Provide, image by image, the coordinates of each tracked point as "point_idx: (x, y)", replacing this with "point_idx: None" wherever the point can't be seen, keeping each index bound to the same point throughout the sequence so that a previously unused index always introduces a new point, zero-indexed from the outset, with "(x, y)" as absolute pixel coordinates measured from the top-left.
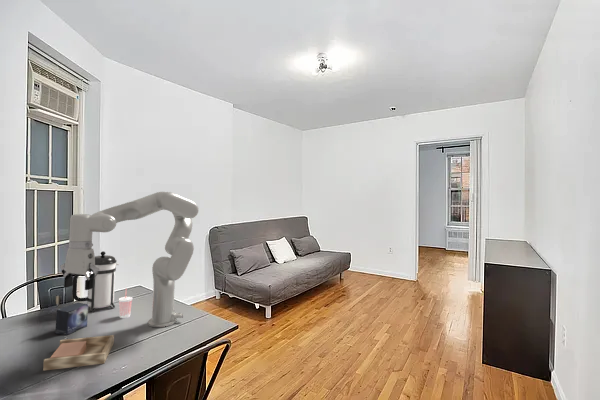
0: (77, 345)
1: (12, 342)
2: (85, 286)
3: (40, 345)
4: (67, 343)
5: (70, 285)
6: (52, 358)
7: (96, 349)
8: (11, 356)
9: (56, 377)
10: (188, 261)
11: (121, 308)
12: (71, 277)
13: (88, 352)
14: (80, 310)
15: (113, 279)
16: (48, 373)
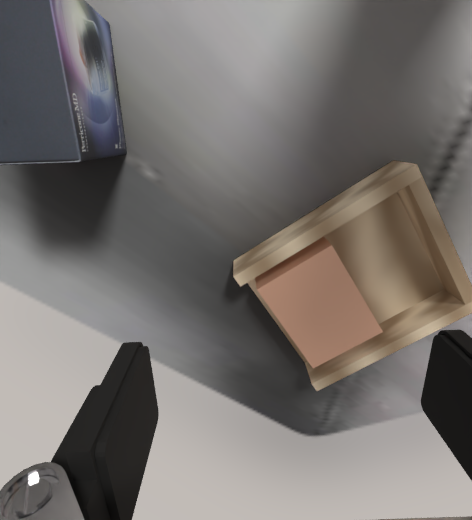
0: (328, 283)
1: (10, 268)
2: (456, 444)
3: (127, 253)
4: (277, 282)
5: (150, 374)
6: (331, 376)
7: (365, 227)
8: (127, 332)
9: (362, 369)
10: None
11: None
12: (112, 459)
13: (353, 253)
14: (75, 58)
15: None
16: None
